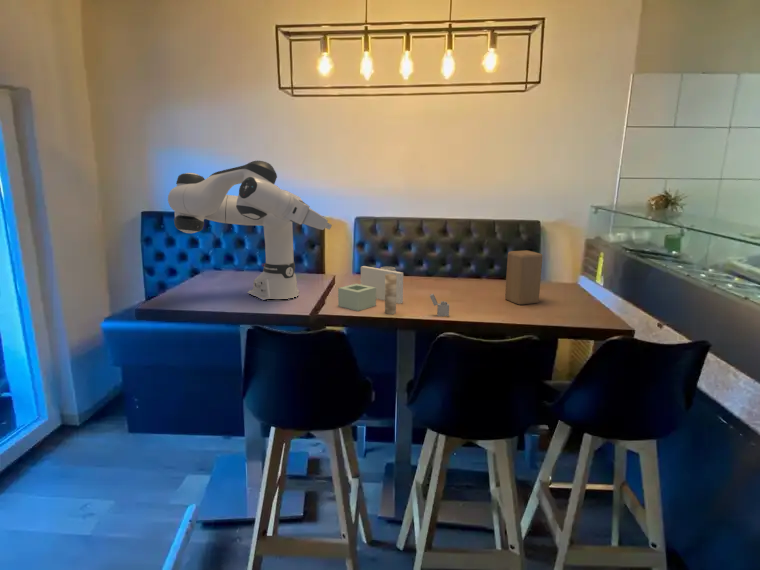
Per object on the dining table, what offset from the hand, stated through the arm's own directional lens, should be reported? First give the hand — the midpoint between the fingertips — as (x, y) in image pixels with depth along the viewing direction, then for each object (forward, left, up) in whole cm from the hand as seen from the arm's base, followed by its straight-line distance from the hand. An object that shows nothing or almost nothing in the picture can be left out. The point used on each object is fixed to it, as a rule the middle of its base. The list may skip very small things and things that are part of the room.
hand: (322, 223), depth 171 cm
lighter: (+27, +31, -34) cm, 54 cm away
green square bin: (-1, +18, -33) cm, 37 cm away
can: (-5, +41, -34) cm, 54 cm away
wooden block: (+41, +70, -34) cm, 88 cm away
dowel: (+14, +19, -34) cm, 41 cm away
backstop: (-1, +22, -34) cm, 40 cm away
